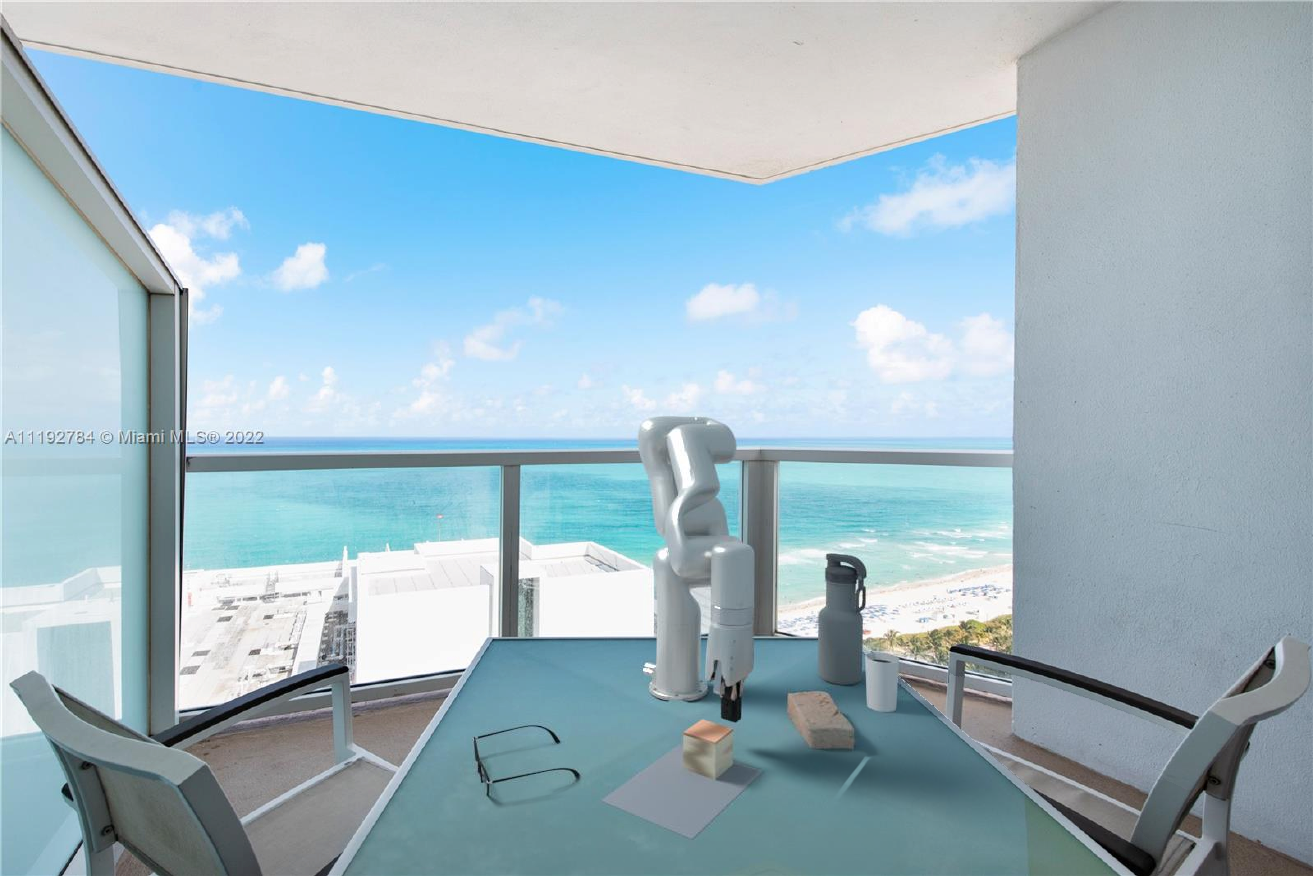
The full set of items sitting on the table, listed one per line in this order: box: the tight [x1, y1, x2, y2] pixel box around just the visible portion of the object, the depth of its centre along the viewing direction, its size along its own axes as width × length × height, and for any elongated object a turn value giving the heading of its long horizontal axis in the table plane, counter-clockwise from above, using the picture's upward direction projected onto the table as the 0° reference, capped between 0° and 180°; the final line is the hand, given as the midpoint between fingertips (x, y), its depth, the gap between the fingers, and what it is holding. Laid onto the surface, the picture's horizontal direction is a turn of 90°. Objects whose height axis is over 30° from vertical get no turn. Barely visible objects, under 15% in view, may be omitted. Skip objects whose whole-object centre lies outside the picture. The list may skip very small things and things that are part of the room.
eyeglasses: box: [472, 724, 581, 796], centre depth 108 cm, size 16×16×4 cm
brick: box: [786, 690, 856, 751], centre depth 123 cm, size 16×8×5 cm, turn 4°
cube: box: [682, 718, 734, 780], centre depth 108 cm, size 6×6×6 cm
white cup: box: [864, 651, 900, 713], centre depth 134 cm, size 7×7×10 cm
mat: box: [600, 743, 764, 840], centre depth 102 cm, size 16×22×1 cm
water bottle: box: [817, 553, 868, 686], centre depth 149 cm, size 10×10×28 cm
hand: (731, 719), depth 114 cm, fingers closed
